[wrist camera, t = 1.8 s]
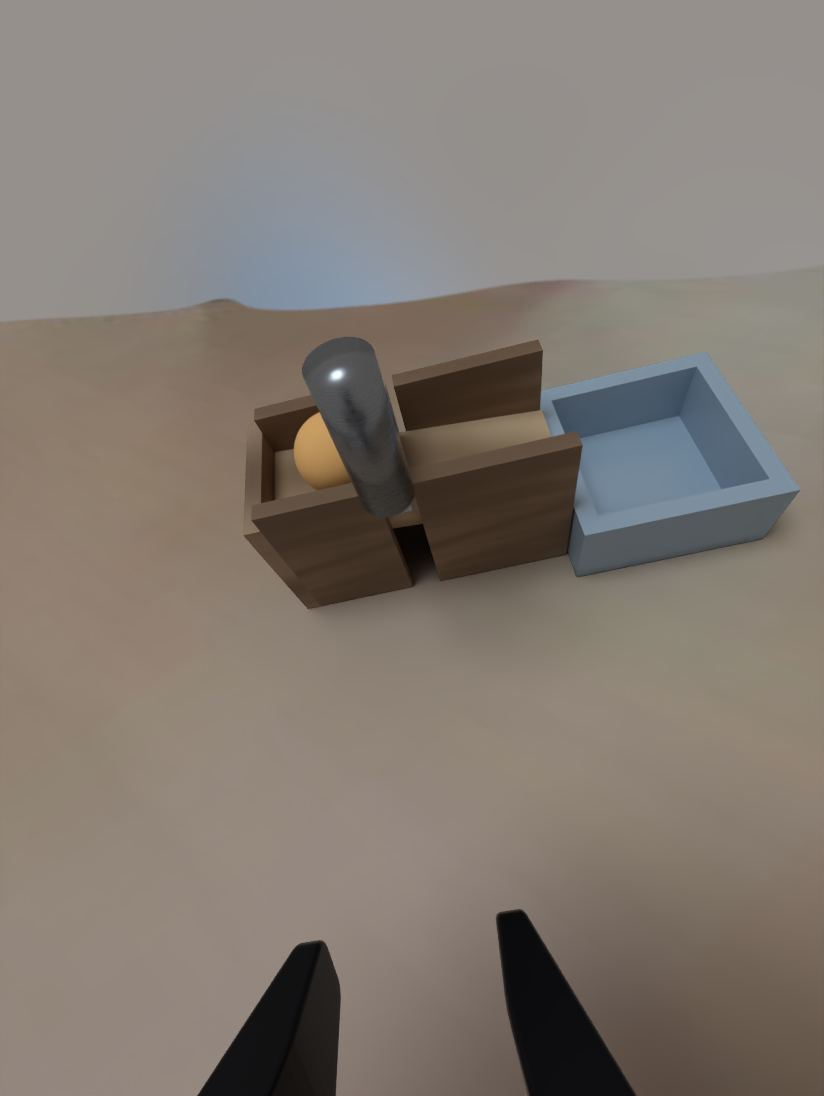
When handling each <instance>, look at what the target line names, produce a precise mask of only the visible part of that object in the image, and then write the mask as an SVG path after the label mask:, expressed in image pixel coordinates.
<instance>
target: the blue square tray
mask: <svg viewBox="0 0 824 1096" xmlns="http://www.w3.org/2000/svg"><path fill="white" fill-rule="evenodd" d="M540 410H542V412H543V415H544V418H545V420H546V423H547V425H548V428H549V431H550V433H551V436H552V437H553V436H557V435H562V434H566V433H571V432H575V431H577V433H578V435H579V438H580V440H581V442H582V445H583V447H582V453H581V460H580V466H579V473H578V480H577V486H576V493H575V500H574V506H573V513H572V519H571V526H570V533H569V539H568V546H567V552H568V554H569V557H570V560H571V563H572V566H573V569H574V572H575V574H576V577H580V576H584V575H589V574H594V573H599V572H604V571H609V570H614V569H618V568H623V567H628V566H633V565H638V564H643V563H648V562H652V561H657V560H662V559H667V558H672V557H677V556H682V555H686V554H691V553H696V552H701V551H706V550H711V549H716V548H720V547H725V546H730V545H735V544H740V543H745V542H750V541H754V540H759V539H763V538H764V536H765V535H766V534H767V533H768V531H769V530H770V529H771V527H772V526H773V525H774V523H775V522H776V521H777V520H778V518H779V517H780V516H781V514H782V513H783V512H784V510H785V509H786V508H787V507H788V505H789V504H790V503H791V501H792V500H793V499H794V498H795V496H796V495H797V494H798V492H799V491H800V489H799V487H798V486H797V484H796V483H795V481H794V480H793V478H792V477H791V475H790V474H789V472H788V471H787V469H786V468H785V467H784V465H783V464H782V462H781V461H780V459H779V458H778V456H777V455H776V453H775V452H774V450H773V449H772V447H771V446H770V444H769V443H768V442H767V440H766V439H765V437H764V436H763V434H762V433H761V431H760V430H759V428H758V427H757V425H756V424H755V422H754V421H753V419H752V418H751V417H750V415H749V414H748V412H747V411H746V409H745V408H744V406H743V405H742V403H741V402H740V400H739V399H738V397H737V396H736V394H735V393H734V391H733V390H732V389H731V387H730V386H729V384H728V383H727V381H726V380H725V378H724V377H723V375H722V374H721V372H720V371H719V369H718V368H717V366H716V365H715V364H714V362H713V361H712V359H711V358H710V356H709V355H708V353H707V352H703V353H699V354H695V355H691V356H686V357H682V358H678V359H674V360H670V361H665V362H661V363H657V364H653V365H648V366H644V367H640V368H636V369H632V370H627V371H623V372H619V373H615V374H610V375H606V376H602V377H598V378H594V379H589V380H585V381H581V382H577V383H572V384H568V385H564V386H560V387H556V388H551V389H547V390H543V391H541V402H540Z"/></svg>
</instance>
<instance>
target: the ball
mask: <svg viewBox="0 0 824 1096" xmlns="http://www.w3.org/2000/svg"><path fill="white" fill-rule="evenodd" d="M294 459H295V463H296V466H297V469H298V471H299V473H300V474H301V476H302V477H303V479H304V480H305V481H306V482H307V483H308V484H309V485H310V486H312V487H313V488H314V489H316V490H322V489H326V488H330V487H335V486H339V485H344V484H348V483H352V482H351V480H350V478H349V475H348V473H347V471H346V469H345V467H344V464H343V462H342V460H341V458H340V456H339V454H338V451H337V449H336V447H335V445H334V443H333V440H332V438H331V436H330V434H329V432H328V430H327V427H326V425H325V423H324V421H323V419H322V417H321V414H320V412H319V413H317V414H315V415H313V416H312V417H310V418H309V419H308V420H307V421H306V422H305V423H304V424H303V425H302V427H301V428H300V430H299V432H298V434H297V436H296V439H295V443H294Z"/></svg>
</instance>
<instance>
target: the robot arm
mask: <svg viewBox="0 0 824 1096" xmlns="http://www.w3.org/2000/svg"><path fill="white" fill-rule="evenodd" d="M496 924H497V932H498V941H499V949H500V958H501V966H502V975H503V983H504V992H505V999H506V1005H507V1012H508V1016H509V1020H510V1025H511V1029H512V1033H513V1037H514V1041H515V1045H516V1050H517V1054H518V1058H519V1062H520V1066H521V1070H522V1074H523V1078H524V1082H525V1086H526V1090H527V1094H528V1096H637V1095H636V1094H635V1092H634V1090H633V1089H632V1087H631V1086H630V1084H629V1082H628V1081H627V1079H626V1077H625V1076H624V1074H623V1072H622V1071H621V1069H620V1067H619V1066H618V1064H617V1062H616V1061H615V1059H614V1058H613V1056H612V1054H611V1053H610V1051H609V1049H608V1048H607V1046H606V1044H605V1043H604V1041H603V1039H602V1038H601V1036H600V1034H599V1033H598V1031H597V1030H596V1028H595V1026H594V1025H593V1023H592V1021H591V1020H590V1018H589V1016H588V1015H587V1013H586V1011H585V1010H584V1008H583V1006H582V1005H581V1003H580V1002H579V1000H578V998H577V997H576V995H575V993H574V992H573V990H572V988H571V987H570V985H569V983H568V982H567V980H566V978H565V977H564V975H563V974H562V972H561V970H560V969H559V967H558V965H557V964H556V962H555V960H554V959H553V957H552V955H551V954H550V952H549V950H548V949H547V947H546V946H545V944H544V942H543V941H542V939H541V937H540V936H539V934H538V932H537V931H536V929H535V927H534V926H533V924H532V922H531V921H530V919H529V918H528V916H527V914H526V913H525V912H524V911H523V910H521V909H517V910H510V911H504V912H500V913H498V914H497V916H496ZM340 1002H341V995H340V984H339V980H338V977H337V974H336V971H335V968H334V965H333V962H332V959H331V956H330V953H329V950H328V947H327V945H326V943H325V942H324V941H321V940H318V941H312V942H305V943H301V944H298V945H297V946H296V947H295V948H294V949H293V951H292V952H291V954H290V955H289V957H288V958H287V960H286V961H285V963H284V964H283V966H282V967H281V969H280V970H279V972H278V973H277V975H276V976H275V978H274V980H273V981H272V983H271V984H270V986H269V987H268V989H267V990H266V992H265V993H264V995H263V996H262V998H261V999H260V1001H259V1002H258V1004H257V1005H256V1007H255V1009H254V1010H253V1012H252V1013H251V1015H250V1016H249V1018H248V1019H247V1021H246V1022H245V1024H244V1025H243V1027H242V1028H241V1030H240V1031H239V1033H238V1034H237V1036H236V1038H235V1039H234V1041H233V1042H232V1044H231V1045H230V1047H229V1048H228V1050H227V1051H226V1053H225V1054H224V1056H223V1057H222V1059H221V1060H220V1062H219V1063H218V1065H217V1067H216V1068H215V1070H214V1071H213V1073H212V1074H211V1076H210V1077H209V1079H208V1080H207V1082H206V1083H205V1085H204V1086H203V1088H202V1089H201V1091H200V1092H199V1094H198V1096H336V1078H337V1059H338V1040H339V1021H340Z"/></svg>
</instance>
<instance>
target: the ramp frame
mask: <svg viewBox="0 0 824 1096" xmlns="http://www.w3.org/2000/svg"><path fill="white" fill-rule="evenodd" d="M542 355H543V350H542V348H541V345H540V343H539V340H535V341H530V342H526V343H522V344H518V345H514V346H510V347H506V348H502V349H498V350H494V351H490V352H486V353H481V354H477V355H473V356H469V357H465V358H461V359H457V360H453V361H449V362H445V363H441V364H437V365H433V366H428V367H424V368H420V369H416V370H412V371H408V372H404V373H400V374H396V375H392V378H393V384H394V389H395V392H396V396H397V400H398V403H399V407H400V411H401V414H402V418H403V422H404V425H405V429H406V431H405V432H399V434H400V440H401V444H402V448H403V451H404V454H405V458H406V461H407V465H408V468H409V471H410V475H411V478H412V482H413V485H414V489H415V495H414V499H413V501H412V503H411V504H412V509H413V511H411V512H406V513H402V514H398V515H396V516H393V517H389V518H379V517H375V516H372V515H370V514H369V513H368V512H366V511H365V509H364V508H363V506H362V504H361V502H360V499H359V497H358V495H357V493H356V491H355V488H354V486H353V484H352V483H348V484H344V485H339V486H335V487H330V488H326V489H322V490H316V489H314V488H313V487H312V486H310V485H309V484H308V483H307V482H306V481H305V480H304V479H303V477H302V476H301V474H300V473H299V471H298V469H297V466H296V463H295V459H294V443H295V439H296V436H297V434H298V432H299V430H300V428H301V427H302V425H303V424H304V423H305V422H306V421H307V420H308V419H309V418H310V417H312V416H313V415H315V414H317V413H319V410H318V408H317V406H316V403H315V401H314V399H313V397H312V395H310V396H306V397H302V398H298V399H294V400H290V401H286V402H282V403H277V404H273V405H269V406H265V407H261V408H257V409H255V413H254V421H255V422H256V424H252V425H248V430H247V455H246V479H245V504H244V529H243V536H244V537H245V538H246V539H247V540H248V541H249V542H250V544H251V545H252V546H253V547H254V548H255V549H256V550H257V552H258V553H259V554H260V555H261V556H262V557H263V558H264V560H265V561H266V562H267V563H268V564H269V565H270V566H271V568H272V569H273V570H274V571H275V572H276V573H277V574H278V575H279V577H280V578H281V579H282V580H283V581H284V582H285V583H286V585H287V586H288V587H289V588H290V589H291V590H292V591H293V593H294V594H295V595H296V596H297V597H298V598H299V599H300V601H301V602H302V603H303V604H304V605H305V606H306V607H307V609H309V608H313V607H318V606H323V605H328V604H333V603H337V602H342V601H347V600H352V599H356V598H361V597H366V596H371V595H375V594H380V593H385V592H390V591H395V590H399V589H404V588H409V587H413V585H412V579H411V574H410V571H409V569H408V566H407V564H406V561H405V559H404V556H403V554H402V551H401V549H400V546H399V543H398V541H397V538H396V536H395V533H394V531H393V528H399V527H405V526H411V525H418V524H423V525H424V529H425V532H426V535H427V539H428V542H429V546H430V549H431V552H432V556H433V559H434V562H435V566H436V569H437V572H438V576H439V579H440V581H442V580H447V579H452V578H456V577H461V576H466V575H471V574H476V573H480V572H485V571H490V570H495V569H499V568H504V567H509V566H514V565H518V564H523V563H528V562H533V561H537V560H542V559H547V558H552V557H557V556H561V555H566V553H567V546H568V539H569V533H570V526H571V519H572V513H573V506H574V500H575V493H576V486H577V480H578V473H579V466H580V460H581V453H582V447H583V445H582V442H581V440H580V438H579V435H578V433H577V431H575V432H571V433H566V434H562V435H557V436H553V437H552V436H551V433H550V431H549V428H548V425H547V423H546V420H545V418H544V415H543V412H542V410H540V402H541V378H542Z"/></svg>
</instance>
